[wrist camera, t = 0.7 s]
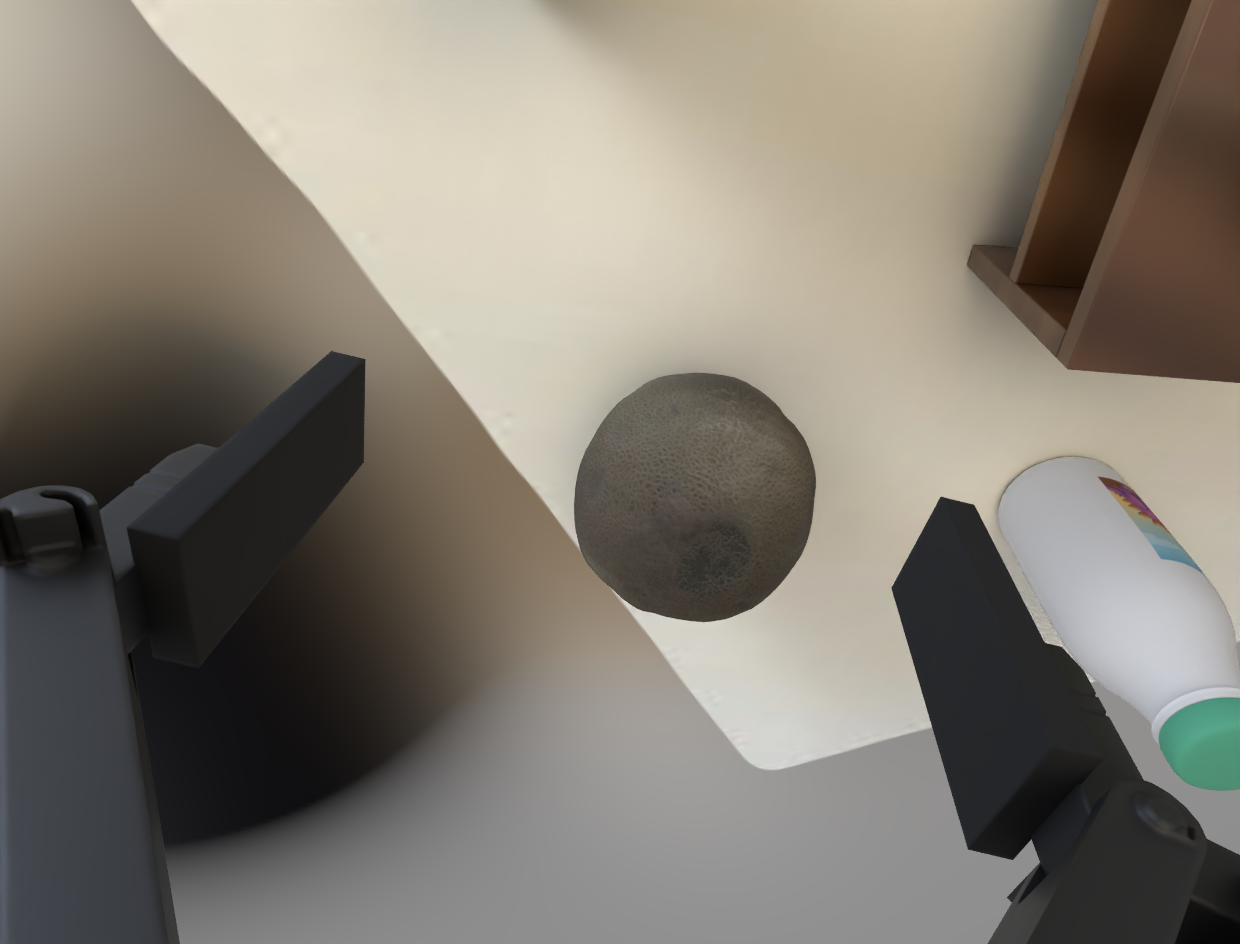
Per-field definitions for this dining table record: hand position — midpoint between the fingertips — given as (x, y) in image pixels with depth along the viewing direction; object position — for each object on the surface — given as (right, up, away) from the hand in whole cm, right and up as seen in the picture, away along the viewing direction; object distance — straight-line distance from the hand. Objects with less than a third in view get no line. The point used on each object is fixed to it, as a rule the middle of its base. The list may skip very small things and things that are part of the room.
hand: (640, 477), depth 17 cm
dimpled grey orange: (+5, +3, +32) cm, 33 cm away
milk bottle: (+28, -2, +32) cm, 43 cm away
